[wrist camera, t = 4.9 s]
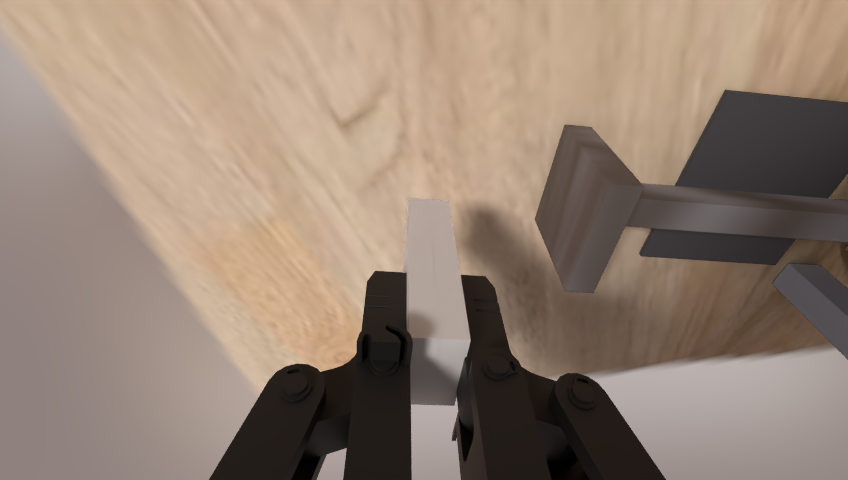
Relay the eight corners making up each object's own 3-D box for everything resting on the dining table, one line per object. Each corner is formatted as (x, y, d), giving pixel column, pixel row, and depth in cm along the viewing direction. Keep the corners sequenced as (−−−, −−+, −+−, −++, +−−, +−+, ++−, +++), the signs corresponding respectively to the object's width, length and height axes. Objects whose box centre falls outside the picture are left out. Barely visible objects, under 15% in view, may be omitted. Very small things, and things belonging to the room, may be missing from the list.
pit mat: (639, 253, 23) (641, 256, 23) (725, 89, 18) (728, 91, 18) (772, 262, 24) (775, 264, 24) (893, 107, 19) (898, 109, 19)
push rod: (532, 227, 22) (567, 314, 17) (568, 113, 18) (625, 182, 13) (941, 256, 24) (1076, 341, 19) (1047, 158, 20) (1247, 233, 15)
